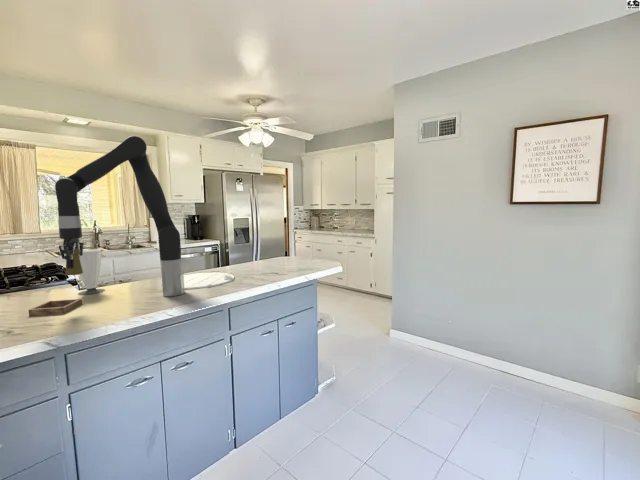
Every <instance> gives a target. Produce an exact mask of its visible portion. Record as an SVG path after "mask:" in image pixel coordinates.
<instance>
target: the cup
mask: <svg viewBox="0 0 640 480" xmlns="http://www.w3.org/2000/svg"><path fill="white" fill-rule="evenodd" d="M101 258H102V249H101V248H95V249H94V248H92V249H83V255H82V256H80V258H79V259H80V263H81V267H82V271H83V273H82V274H79V275H80V279H81V281H82V283H83V286H84V288H85V289H86V290H83V291H81V292H78V293H77V294H78V295H79V296H88V295H90V296H92V295H96V294H101V293H103V291H104V292H105V291H106V290H105V289H103V288H97V287H98V283H99V278H100V274H101V273H100V272H101V263H102V261H101V260H102V259H101ZM100 292H101V293H100Z"/></svg>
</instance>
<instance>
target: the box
mask: <svg viewBox="0 0 640 480" xmlns="http://www.w3.org/2000/svg"><path fill="white" fill-rule="evenodd" d="M82 305H83V298H73V299H71V298H70V299H59V300H58V299H57V300H49V301H46V302H44V303H41V304H39V305H36V306H33V308H30V309H28V316H29V317H33V316H34V317H35V316H50V315H61V314H62V315H63V314H67V313H68V312H71V311H72V310H74V309H76V308H79V307H80V306H82Z"/></svg>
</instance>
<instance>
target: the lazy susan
mask: <svg viewBox="0 0 640 480" xmlns="http://www.w3.org/2000/svg"><path fill="white" fill-rule="evenodd" d="M234 280H235V276H234V275H233V274H232V272H229V273H226V272H200V273H190V274H184V288H185V290H196V289H206V288H211V287H217V286H222V285H225V284H228V283H230V282H232V281H234ZM161 286H162V282H161Z"/></svg>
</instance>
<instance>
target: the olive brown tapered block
mask: <svg viewBox="0 0 640 480" xmlns="http://www.w3.org/2000/svg"><path fill="white" fill-rule="evenodd" d="M69 252H72V250H71V251H70V250H69ZM79 254H80V250H79V249H78V248H75V250H74V254H73V268H72V269H71V268H69V269H68V268H67V262H66V261H65V262H66V263H65V276H76V275H80V274H82V273H83V271H82V267H81V263H80V259H79Z"/></svg>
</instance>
